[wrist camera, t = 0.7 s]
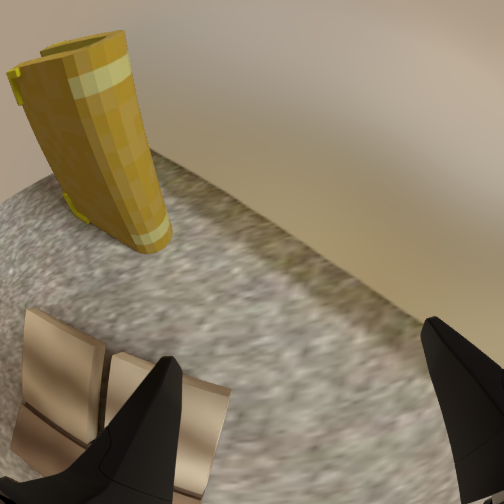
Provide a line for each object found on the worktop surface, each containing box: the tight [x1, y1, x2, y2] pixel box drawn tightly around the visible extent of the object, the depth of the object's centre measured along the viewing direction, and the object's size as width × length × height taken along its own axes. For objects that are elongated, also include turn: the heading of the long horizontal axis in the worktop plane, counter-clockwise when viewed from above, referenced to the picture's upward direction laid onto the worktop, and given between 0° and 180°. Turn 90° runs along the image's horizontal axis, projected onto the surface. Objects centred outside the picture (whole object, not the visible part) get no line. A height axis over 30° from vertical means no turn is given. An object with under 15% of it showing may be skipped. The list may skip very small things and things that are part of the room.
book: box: [6, 30, 173, 254], centre depth 26 cm, size 17×7×25 cm, turn 61°
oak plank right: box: [104, 352, 232, 494], centre depth 20 cm, size 11×10×2 cm
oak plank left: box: [22, 309, 106, 444], centre depth 21 cm, size 11×10×2 cm
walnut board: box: [11, 402, 205, 504], centre depth 18 cm, size 8×22×2 cm, turn 76°
